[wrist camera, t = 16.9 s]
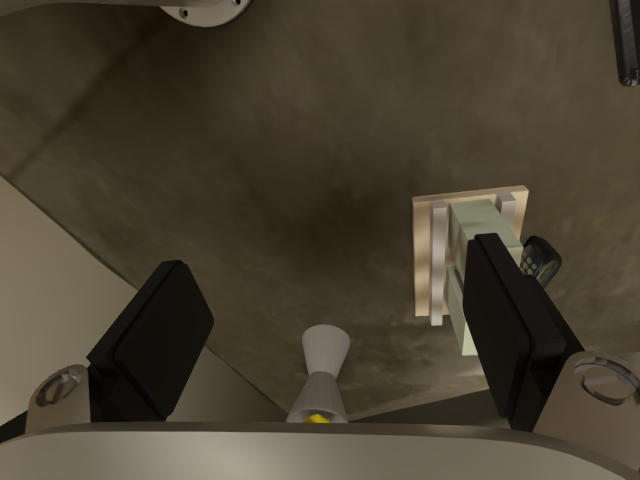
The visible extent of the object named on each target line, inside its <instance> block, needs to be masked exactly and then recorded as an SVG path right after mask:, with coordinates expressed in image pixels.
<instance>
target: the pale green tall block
mask: <svg viewBox="0 0 640 480" xmlns="http://www.w3.org/2000/svg"><path fill="white" fill-rule="evenodd" d="M463 289H464V283H463V281H462V278H461V276H460V273H459V271H458V268H457V266H446V282H445V300H446V304H447V307H448V310H449V314H450V317H451V320H452V324H453V327H454V330H455V333H456V337H457V340H458V343H459V347H460V350H461V353H462V355H478V354H477V351H476V348H475V345H474V342H473V339H472V337H471V334H470V331H469V328H468V325H467V322H466V320H465V317H464V313H463V308H462V301H463Z"/></svg>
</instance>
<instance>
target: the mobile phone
mask: <svg viewBox="0 0 640 480" xmlns="http://www.w3.org/2000/svg"><path fill="white" fill-rule="evenodd" d="M561 264H562V258H561V256H560V255H559V254H558V253H557V252H556V250H555V249H554V248H553V247H552V246H551V245H550V244H549V243H548V242H547V241H546V240H544V239H542V238H539V237H533V238H532V239H531V240H530V241H529V242H528V243H527V245H526V246H525V248H524V249H523V252H522V257H521V262H520V267H519V268H520V270H521V271H522V273H523V275H526V274H531V275H533V276H535V278H536V279H537V280H538V281H539V283H540V284H541V286H542V287H543V289H544V288H545V287H546V286H547V285H548V284H549V282H550V281H551V280H552V278H553V277H554V276H555V274H556V273H557V272H558V270H559V268H560V267H561Z"/></svg>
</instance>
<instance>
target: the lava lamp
mask: <svg viewBox="0 0 640 480" xmlns="http://www.w3.org/2000/svg"><path fill="white" fill-rule="evenodd" d="M302 342H303V347H304V353H305V358H306V364H307V369H308V374H309V378H308V380H307V382H306V384H305V386H304V388H303V389H302V391H301V393H300V395H299V397H298V399H297V401H296V402H295V404H294V406H293V408H292V410H291V412H290V414H289V416H288V418H287V421H286V422H289V423H348V420H347V416H346V413H345V410H344V406H343V403H342V400H341V396H340V393H339V390H338V386H337V383H336V378H337V376H338V373H339V371H340V368H341V366H342V364H343V361H344V359H345V356H346V354H347V351H348V349H349V346H350V339H349V336H348V335H347V334H346V333H345V332H344V331H343V330H341V329H340V328H338V327H335V326H332V325H316V326H313V327H311V328H309V329H307V330H306V331H305V332H304V334H303V336H302Z"/></svg>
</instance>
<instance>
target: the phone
mask: <svg viewBox="0 0 640 480" xmlns="http://www.w3.org/2000/svg"><path fill="white" fill-rule="evenodd" d="M610 8H611V17H612V25H613V33H614V41H615V49H616V57H617V66H618V74H619V79H620V82H621V83H623V84H626V85H630V86H635V85H638V84H640V0H610Z"/></svg>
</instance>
